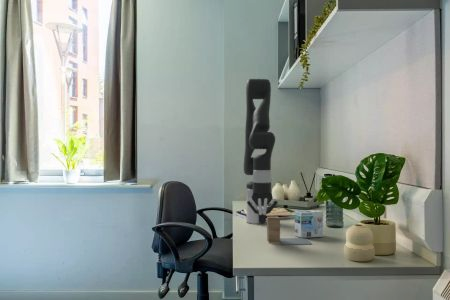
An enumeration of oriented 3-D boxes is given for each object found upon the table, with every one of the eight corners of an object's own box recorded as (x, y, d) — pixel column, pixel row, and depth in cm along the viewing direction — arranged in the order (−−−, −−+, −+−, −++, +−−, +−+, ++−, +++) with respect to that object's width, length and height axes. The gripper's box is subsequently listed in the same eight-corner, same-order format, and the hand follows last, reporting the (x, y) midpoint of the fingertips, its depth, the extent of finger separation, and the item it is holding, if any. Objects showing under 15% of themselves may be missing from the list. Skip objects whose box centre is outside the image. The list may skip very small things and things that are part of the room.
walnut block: (267, 240, 166) (267, 216, 165) (277, 240, 166) (277, 216, 166) (268, 243, 161) (268, 218, 161) (279, 243, 161) (279, 218, 161)
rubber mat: (277, 239, 169) (277, 238, 169) (305, 238, 169) (305, 237, 169) (282, 244, 159) (282, 244, 159) (312, 244, 159) (312, 243, 159)
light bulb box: (301, 238, 169) (300, 212, 169) (294, 235, 175) (293, 210, 176) (324, 236, 171) (323, 211, 172) (316, 234, 178) (316, 209, 178)
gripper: (276, 180, 167) (276, 221, 167) (244, 180, 166) (244, 222, 167) (279, 181, 159) (279, 225, 160) (246, 182, 159) (246, 225, 159)
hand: (261, 223), depth 163 cm, fingers closed
